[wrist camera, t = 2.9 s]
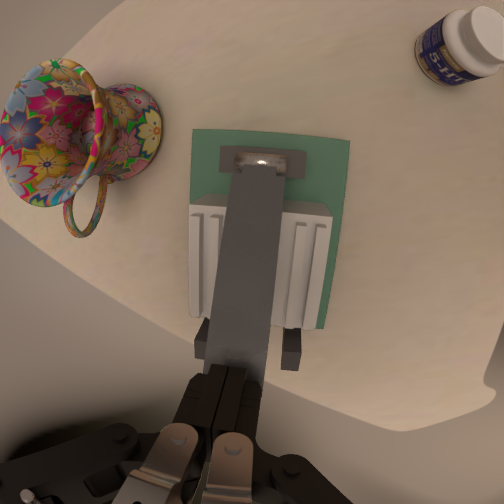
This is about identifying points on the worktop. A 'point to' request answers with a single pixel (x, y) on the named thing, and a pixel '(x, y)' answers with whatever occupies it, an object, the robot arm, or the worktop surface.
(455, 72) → the pill bottle
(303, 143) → the heatsink base
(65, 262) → the worktop surface
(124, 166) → the mug
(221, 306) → the strap
